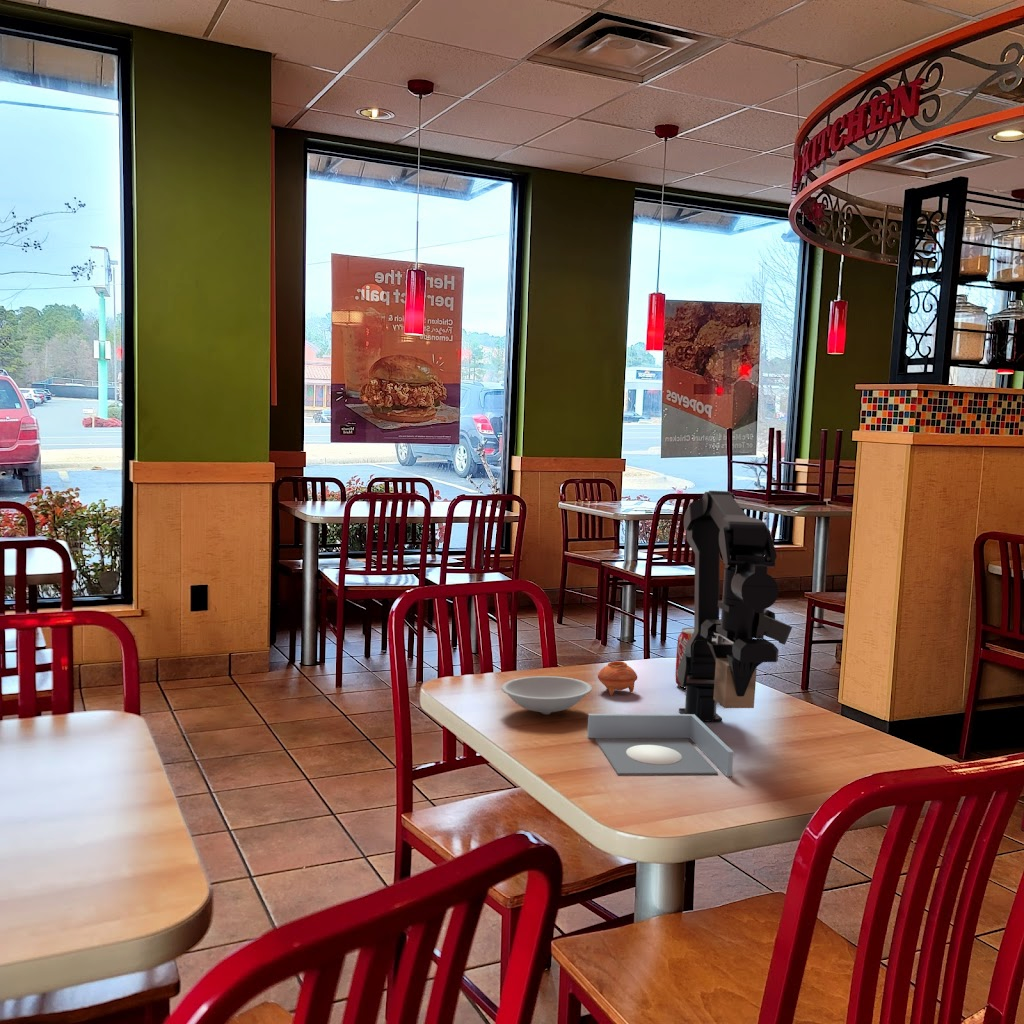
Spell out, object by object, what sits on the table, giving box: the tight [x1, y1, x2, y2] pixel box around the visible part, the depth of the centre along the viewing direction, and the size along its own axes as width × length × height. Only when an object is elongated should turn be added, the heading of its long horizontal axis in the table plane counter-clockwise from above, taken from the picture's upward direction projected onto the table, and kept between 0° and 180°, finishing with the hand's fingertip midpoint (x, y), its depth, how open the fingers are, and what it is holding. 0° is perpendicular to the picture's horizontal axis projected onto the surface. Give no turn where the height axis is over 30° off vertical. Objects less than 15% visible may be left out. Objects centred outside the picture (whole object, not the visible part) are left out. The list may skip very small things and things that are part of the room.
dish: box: [501, 675, 593, 715], centre depth 177 cm, size 18×14×5 cm
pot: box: [597, 660, 638, 696], centre depth 193 cm, size 8×8×7 cm
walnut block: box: [713, 658, 758, 709], centre depth 157 cm, size 5×5×7 cm
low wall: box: [586, 713, 734, 778], centre depth 157 cm, size 19×19×4 cm
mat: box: [594, 738, 719, 776], centre depth 156 cm, size 16×16×1 cm
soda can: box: [675, 627, 694, 688], centre depth 199 cm, size 7×7×12 cm
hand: (734, 691), depth 157 cm, fingers closed on walnut block, 5 cm apart
